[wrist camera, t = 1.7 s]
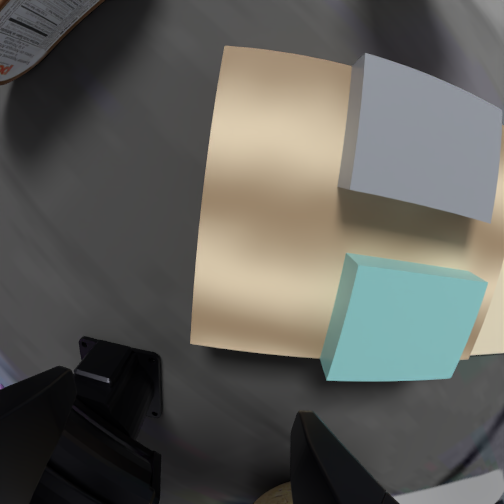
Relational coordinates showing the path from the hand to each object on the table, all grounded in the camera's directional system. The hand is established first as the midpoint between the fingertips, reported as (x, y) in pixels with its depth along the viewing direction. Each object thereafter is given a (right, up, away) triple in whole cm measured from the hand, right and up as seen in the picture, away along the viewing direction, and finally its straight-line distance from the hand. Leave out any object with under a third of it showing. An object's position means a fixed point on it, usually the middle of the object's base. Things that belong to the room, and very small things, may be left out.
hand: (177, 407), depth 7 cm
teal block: (+10, +1, +8) cm, 13 cm away
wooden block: (+9, +6, +11) cm, 15 cm away
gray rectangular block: (+10, +9, +6) cm, 15 cm away
